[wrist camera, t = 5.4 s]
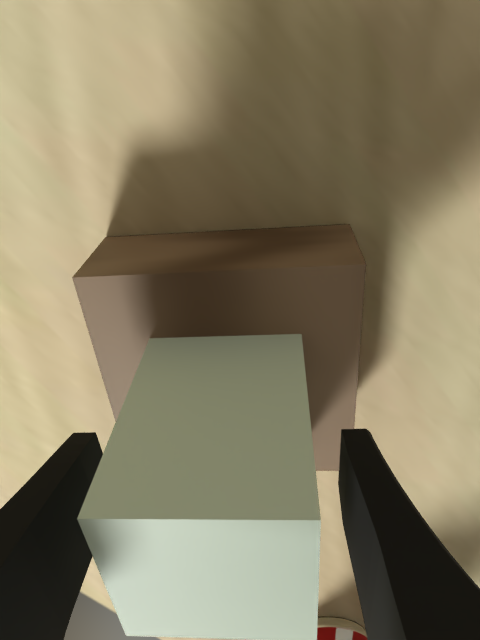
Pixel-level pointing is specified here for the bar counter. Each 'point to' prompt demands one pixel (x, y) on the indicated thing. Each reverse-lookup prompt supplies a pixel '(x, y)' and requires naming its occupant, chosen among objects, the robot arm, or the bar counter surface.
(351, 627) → the soda can
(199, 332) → the base block
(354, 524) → the robot arm
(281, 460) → the sage block
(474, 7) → the bar counter surface
